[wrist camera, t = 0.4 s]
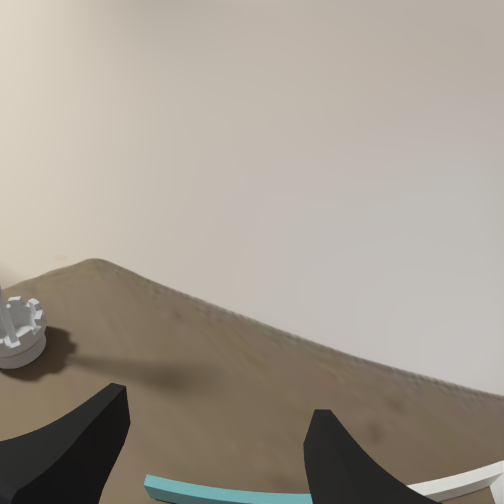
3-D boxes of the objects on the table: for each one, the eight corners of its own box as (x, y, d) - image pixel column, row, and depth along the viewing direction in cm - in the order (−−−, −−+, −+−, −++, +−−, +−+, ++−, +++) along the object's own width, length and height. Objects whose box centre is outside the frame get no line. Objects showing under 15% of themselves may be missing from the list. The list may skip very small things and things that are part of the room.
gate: (150, 497, 22) (143, 485, 20) (153, 487, 23) (147, 474, 21) (339, 515, 20) (348, 503, 19) (338, 504, 21) (347, 492, 20)
